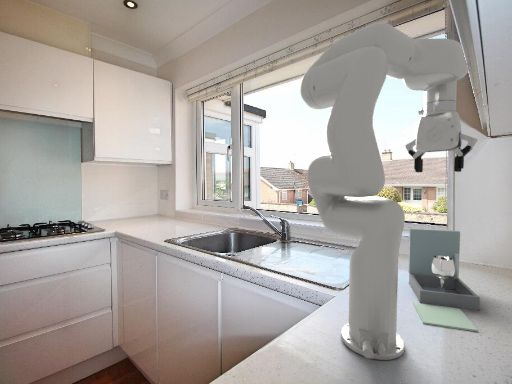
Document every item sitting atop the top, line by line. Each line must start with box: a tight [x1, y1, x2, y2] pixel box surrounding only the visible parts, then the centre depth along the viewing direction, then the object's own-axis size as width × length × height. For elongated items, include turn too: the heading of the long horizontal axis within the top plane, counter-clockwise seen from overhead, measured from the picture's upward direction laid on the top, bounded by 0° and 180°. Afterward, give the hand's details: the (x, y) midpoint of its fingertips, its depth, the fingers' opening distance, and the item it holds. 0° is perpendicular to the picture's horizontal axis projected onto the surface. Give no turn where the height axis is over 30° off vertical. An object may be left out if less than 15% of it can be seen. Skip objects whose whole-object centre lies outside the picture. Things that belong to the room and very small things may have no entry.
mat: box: [412, 302, 478, 333], centre depth 70 cm, size 11×11×1 cm
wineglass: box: [431, 255, 455, 292], centre depth 81 cm, size 6×6×12 cm
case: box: [408, 227, 481, 311], centre depth 82 cm, size 16×14×18 cm
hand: (437, 172), depth 77 cm, fingers open, 9 cm apart
